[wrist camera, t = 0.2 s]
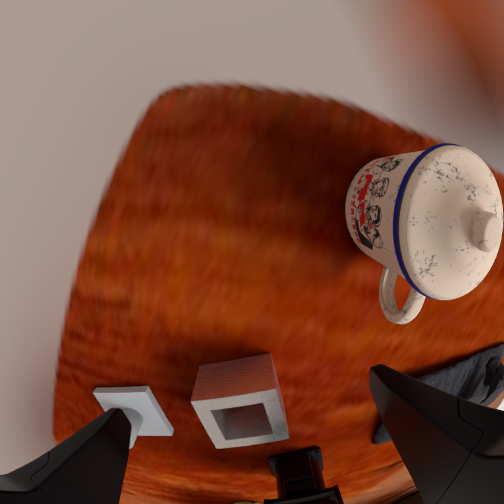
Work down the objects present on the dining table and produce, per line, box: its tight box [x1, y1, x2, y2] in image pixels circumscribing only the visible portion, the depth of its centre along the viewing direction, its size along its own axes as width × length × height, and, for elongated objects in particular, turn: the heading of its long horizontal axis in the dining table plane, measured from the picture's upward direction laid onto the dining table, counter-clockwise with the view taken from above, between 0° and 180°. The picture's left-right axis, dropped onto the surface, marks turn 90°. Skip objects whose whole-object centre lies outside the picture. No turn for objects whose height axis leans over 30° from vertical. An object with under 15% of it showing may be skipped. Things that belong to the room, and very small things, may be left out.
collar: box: [191, 353, 289, 449], centre depth 22 cm, size 7×7×5 cm
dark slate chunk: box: [373, 344, 504, 444], centre depth 24 cm, size 15×22×5 cm
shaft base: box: [93, 386, 174, 449], centre depth 22 cm, size 7×7×6 cm
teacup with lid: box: [345, 143, 503, 324], centre depth 15 cm, size 12×9×12 cm
